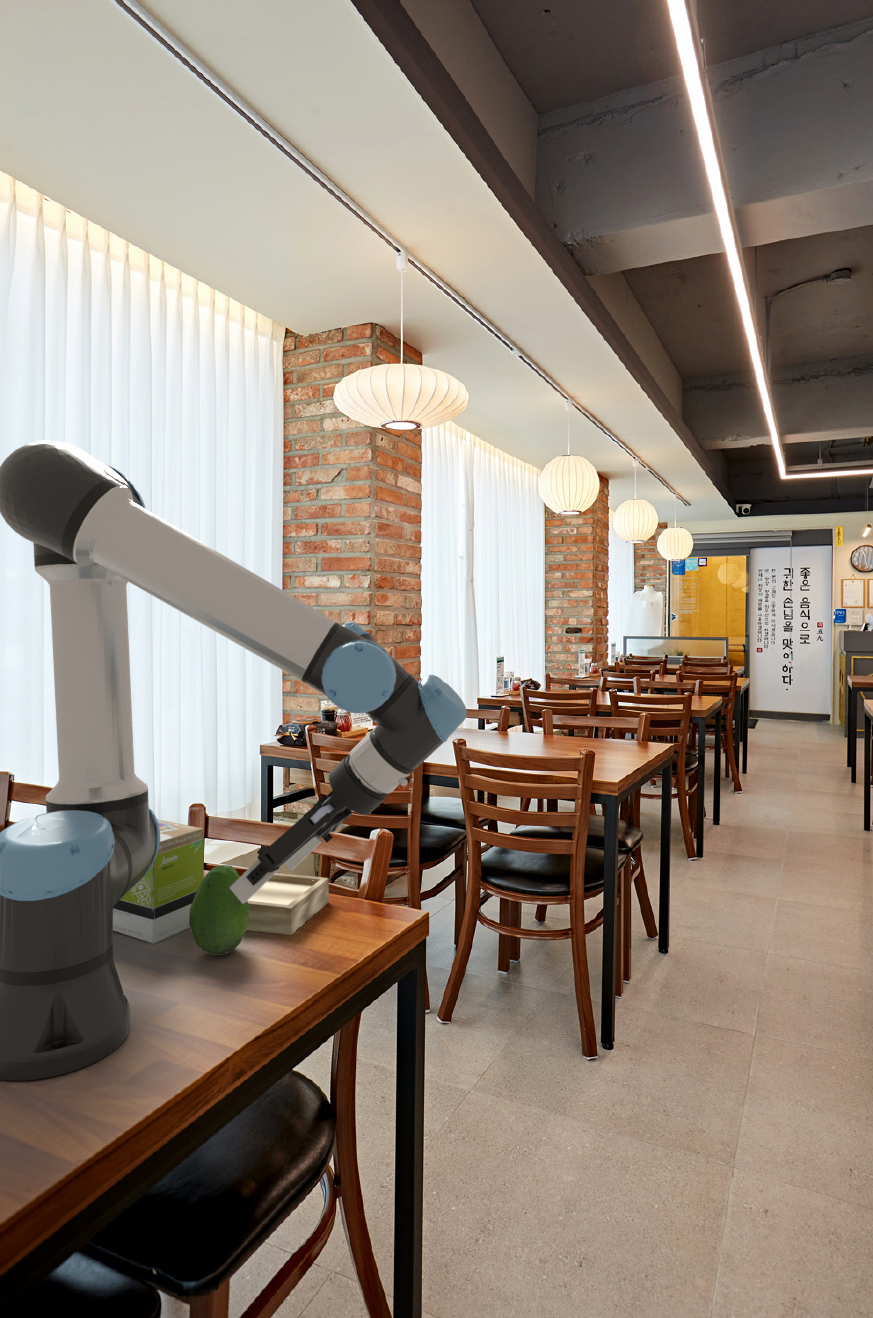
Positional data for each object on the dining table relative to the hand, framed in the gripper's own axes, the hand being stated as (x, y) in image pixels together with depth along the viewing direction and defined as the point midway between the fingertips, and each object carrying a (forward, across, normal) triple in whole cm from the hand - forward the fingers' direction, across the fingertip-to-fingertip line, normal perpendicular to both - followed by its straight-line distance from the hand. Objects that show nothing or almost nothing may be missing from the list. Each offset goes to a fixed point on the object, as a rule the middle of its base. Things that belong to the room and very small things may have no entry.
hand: (262, 878), depth 103 cm
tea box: (+24, +5, +8) cm, 25 cm away
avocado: (+12, 0, -3) cm, 13 cm away
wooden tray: (+12, +14, -3) cm, 19 cm away
